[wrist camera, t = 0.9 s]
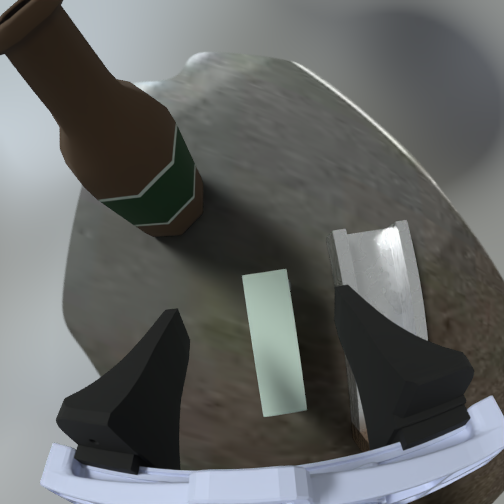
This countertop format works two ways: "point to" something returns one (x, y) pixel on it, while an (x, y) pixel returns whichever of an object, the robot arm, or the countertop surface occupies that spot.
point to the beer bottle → (104, 122)
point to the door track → (378, 289)
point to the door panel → (274, 342)
